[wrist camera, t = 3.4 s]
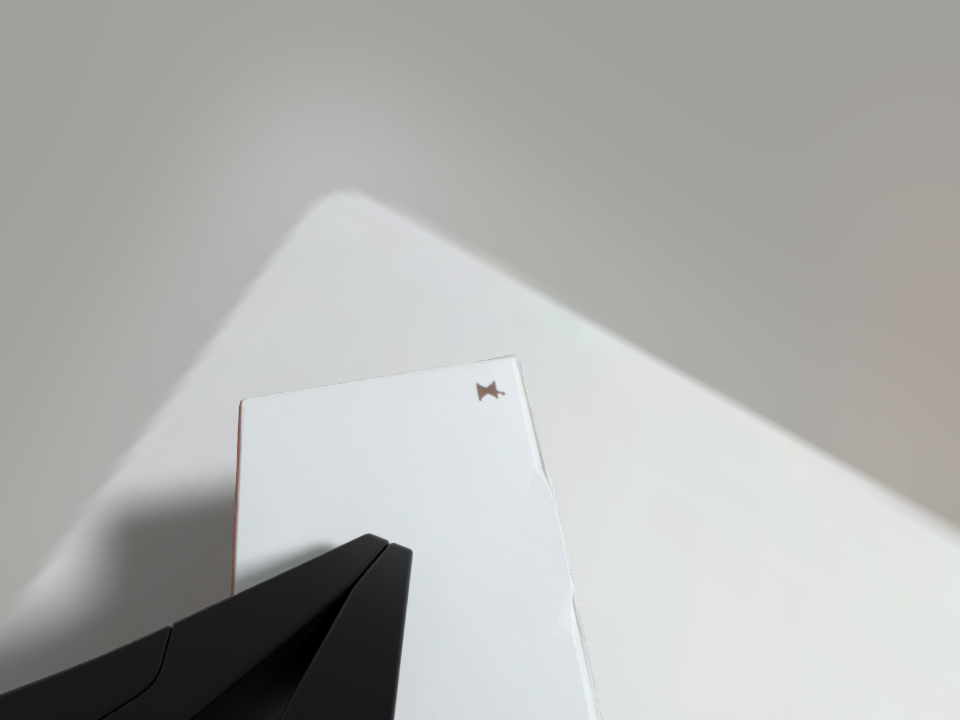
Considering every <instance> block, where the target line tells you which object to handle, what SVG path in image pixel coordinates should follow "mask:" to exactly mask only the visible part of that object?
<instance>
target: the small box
mask: <svg viewBox="0 0 960 720" xmlns="http://www.w3.org/2000/svg"><path fill="white" fill-rule="evenodd" d="M367 533H371V534H374V535H376V536H379V537H382V538H384V539H387V540H388V541H389V543H397V544H399V545H402V546H405V547H407V548H410V549H411V550H412V551H413V559H412V568H411V577H410V586H409V595H408V603H407V612H406V621H405V630H404V639H403V648H402V656H401V665H400V674H399V683H398V692H397V701H396V710H395V718H394V720H602V715H601V710H600V706H599V701H598V696H597V691H596V687H595V682H594V677H593V672H592V668H591V663H590V659H589V655H588V650H587V646H586V641H585V636H584V631H583V626H582V621H581V616H580V611H579V607H578V602H577V597H576V592H575V588H574V583H573V578H572V573H571V568H570V563H569V557H568V551H567V546H566V541H565V536H564V531H563V527H562V523H561V519H560V515H559V511H558V507H557V502H556V496H555V492H554V489H553V485H552V482H551V479H550V477H549V473H548V470H547V467H546V463H545V460H544V456H543V452H542V448H541V443H540V439H539V435H538V431H537V427H536V423H535V418H534V414H533V410H532V405H531V401H530V397H529V393H528V389H527V385H526V381H525V377H524V373H523V368H522V364H521V361H520V358H519V357H518V356H517V355H510V356H505V357H500V358H494V359H489V360H483V361H478V362H472V363H465V364H458V365H452V366H445V367H438V368H432V369H426V370H419V371H413V372H407V373H400V374H394V375H388V376H381V377H375V378H369V379H363V380H357V381H351V382H345V383H339V384H333V385H326V386H320V387H313V388H307V389H301V390H294V391H288V392H283V393H277V394H272V395H265V396H258V397H251V398H245V399H242V400H241V402H240V405H239V420H238V443H237V473H236V492H235V514H234V536H233V570H232V584H231V596H233V595H235V594H237V593H239V592H241V591H244V590H246V589H248V588H250V587H252V586H254V585H257V584H259V583H261V582H263V581H265V580H267V579H269V578H272V577H274V576H276V575H278V574H280V573H282V572H284V571H287V570H289V569H291V568H293V567H295V566H297V565H299V564H302V563H304V562H306V561H308V560H310V559H312V558H314V557H317V556H319V555H321V554H323V553H325V552H327V551H330V550H332V549H334V548H336V547H338V546H340V545H342V544H345V543H347V542H349V541H351V540H353V539H355V538H357V537H360V536H362V535H364V534H367Z"/></svg>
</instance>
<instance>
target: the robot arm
mask: <svg viewBox="0 0 960 720" xmlns="http://www.w3.org/2000/svg"><path fill="white" fill-rule="evenodd" d="M412 559H413V551H412V550H411V549H410V548H407V547H405V546H402V545H399V544H397V543H389V541H388V540H387V539H384V538H382V537H379V536H376V535H374V534H371V533H367V534H364V535H362V536H360V537H357V538H355V539H353V540H351V541H349V542H347V543H345V544H342V545H340V546H338V547H336V548H334V549H332V550H330V551H327V552H325V553H323V554H321V555H319V556H317V557H314V558H312V559H310V560H308V561H306V562H304V563H302V564H299V565H297V566H295V567H293V568H291V569H289V570H287V571H284V572H282V573H280V574H278V575H276V576H274V577H272V578H269V579H267V580H265V581H263V582H261V583H259V584H257V585H254V586H252V587H250V588H248V589H246V590H244V591H241V592H239V593H237V594H235V595H233V596H231V597H229V598H226V599H224V600H222V601H220V602H218V603H216V604H214V605H211V606H209V607H207V608H205V609H203V610H201V611H199V612H196V613H194V614H192V615H190V616H188V617H186V618H183V619H181V620H179V621H177V622H175V623H174V624H173V626H172V628H171V626H166V627H164V628H162V629H159V630H157V631H155V632H153V633H151V634H149V635H146V636H144V637H142V638H140V639H138V640H135V641H133V642H131V643H129V644H126V645H124V646H122V647H120V648H117V649H115V650H113V651H110V652H108V653H106V654H104V655H101V656H99V657H97V658H94V659H92V660H89V661H87V662H84V663H81V664H79V665H76V666H74V667H71V668H69V669H66V670H64V671H61V672H59V673H56V674H54V675H51V676H49V677H46V678H43V679H41V680H38V681H35V682H33V683H30V684H27V685H25V686H22V687H19V688H17V689H14V690H11V691H9V692H6V693H3V694H1V695H0V720H394V718H395V710H396V701H397V692H398V683H399V674H400V665H401V656H402V648H403V639H404V630H405V621H406V612H407V603H408V595H409V586H410V577H411V568H412Z"/></svg>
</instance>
